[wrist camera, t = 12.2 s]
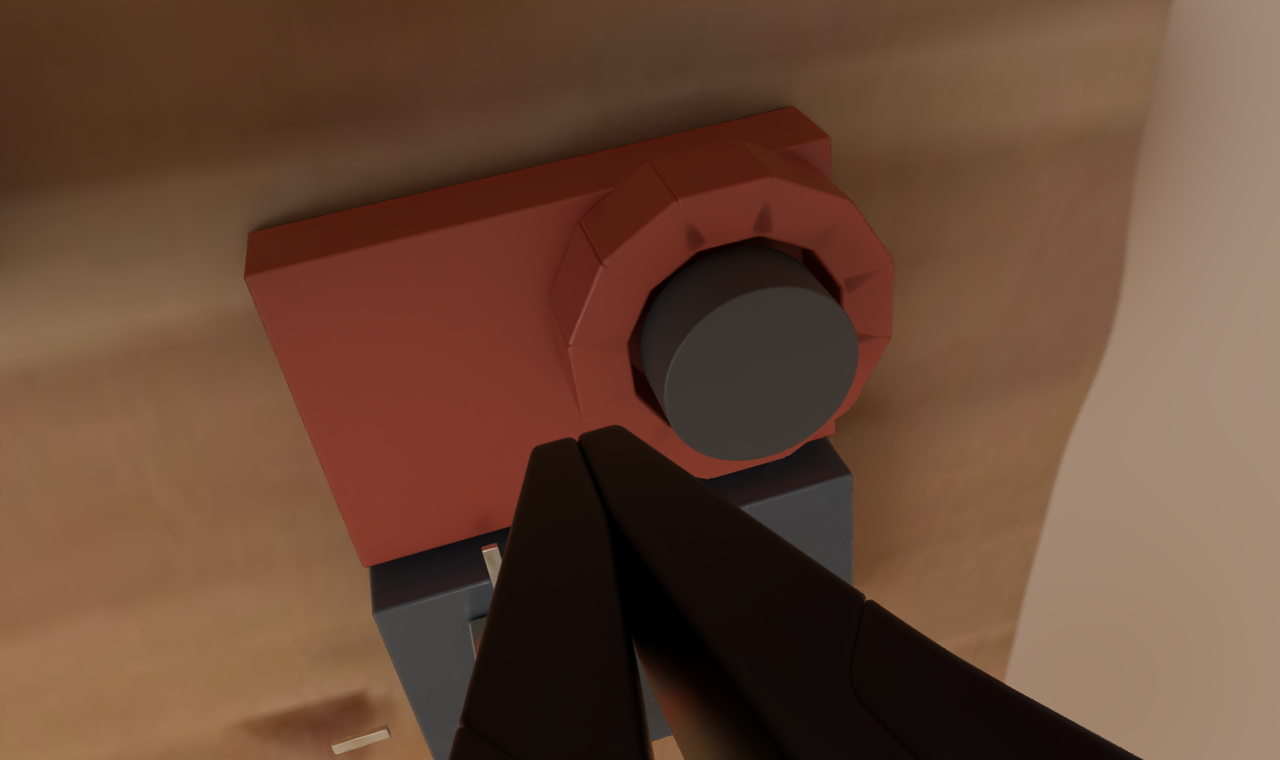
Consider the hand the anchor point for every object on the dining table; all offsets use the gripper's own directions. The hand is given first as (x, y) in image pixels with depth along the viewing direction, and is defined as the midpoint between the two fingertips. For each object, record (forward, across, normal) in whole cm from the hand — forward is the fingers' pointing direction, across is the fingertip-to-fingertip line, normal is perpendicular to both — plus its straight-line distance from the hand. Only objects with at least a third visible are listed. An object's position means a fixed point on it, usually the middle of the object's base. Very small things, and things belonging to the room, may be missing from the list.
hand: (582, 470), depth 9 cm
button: (+9, -4, +6) cm, 12 cm away
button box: (+13, -1, +6) cm, 15 cm away
